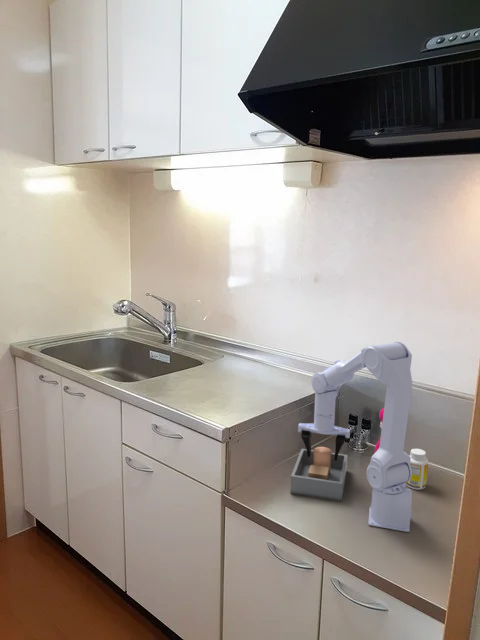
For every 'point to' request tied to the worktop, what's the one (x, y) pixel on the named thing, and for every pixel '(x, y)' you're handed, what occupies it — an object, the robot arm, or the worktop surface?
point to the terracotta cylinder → (322, 457)
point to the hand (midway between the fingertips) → (322, 457)
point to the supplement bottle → (418, 469)
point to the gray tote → (319, 486)
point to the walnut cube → (318, 472)
